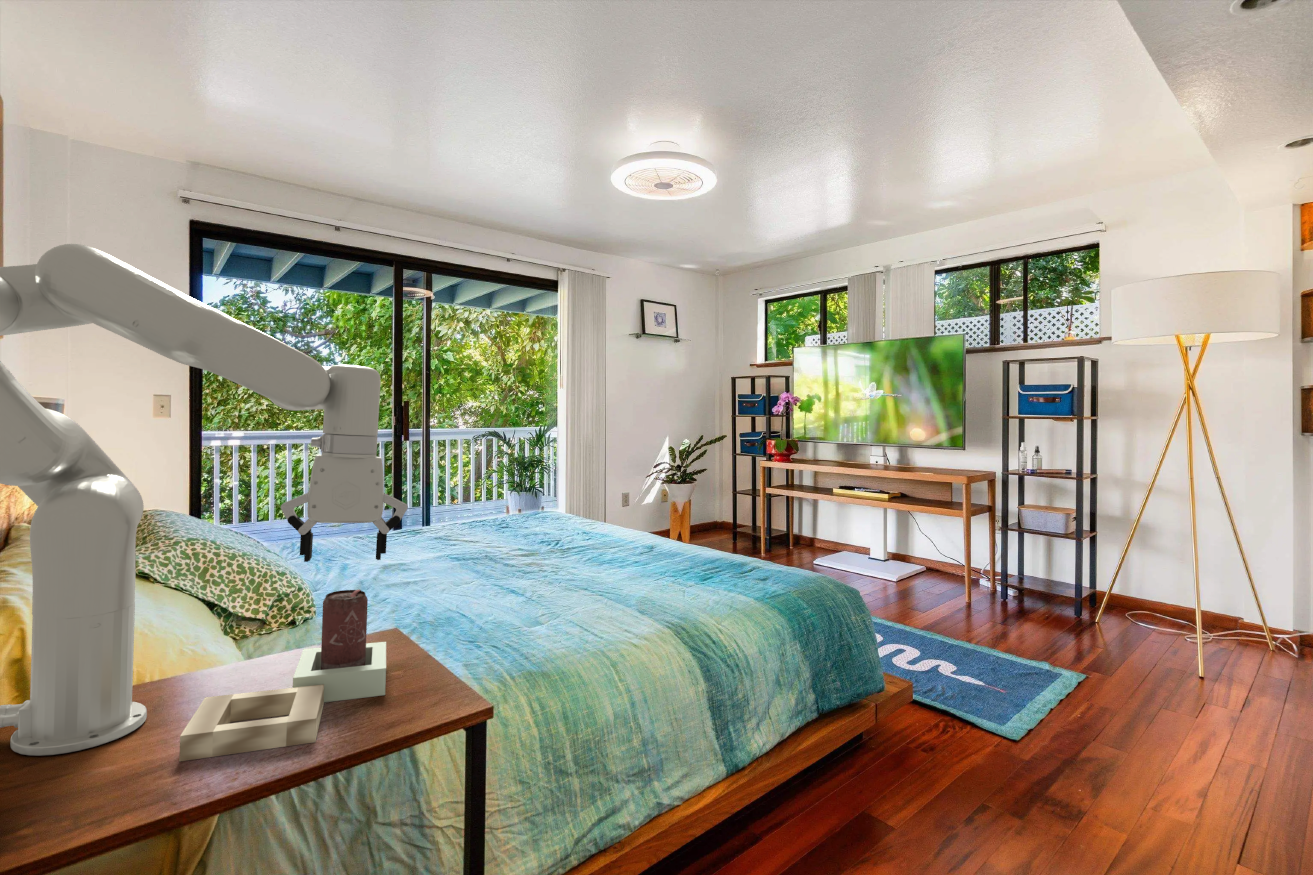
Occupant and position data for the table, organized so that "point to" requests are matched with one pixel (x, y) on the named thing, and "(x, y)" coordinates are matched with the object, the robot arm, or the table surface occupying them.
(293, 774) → the table surface
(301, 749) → the table surface
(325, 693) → the pale green square frame
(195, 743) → the socket block
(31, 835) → the table surface
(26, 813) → the table surface
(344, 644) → the can
